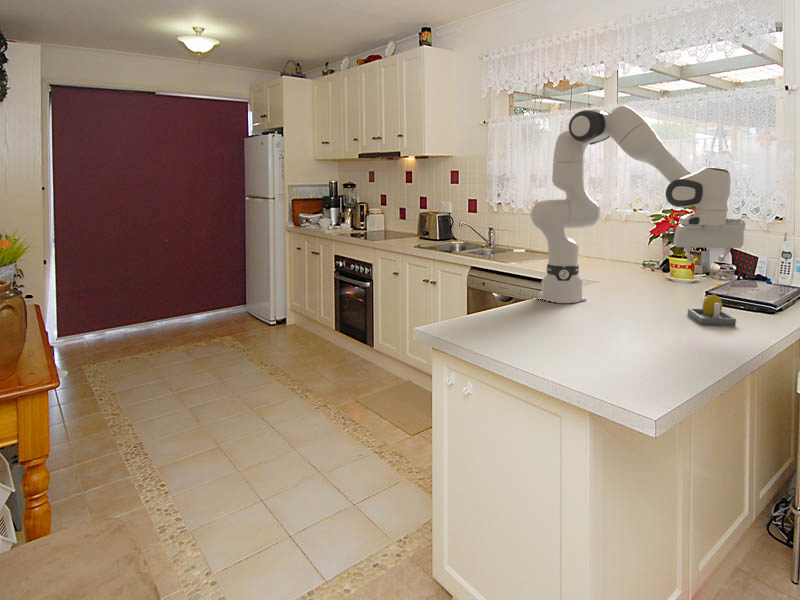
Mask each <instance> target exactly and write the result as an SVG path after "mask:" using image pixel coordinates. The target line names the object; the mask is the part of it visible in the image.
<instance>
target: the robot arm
mask: <svg viewBox="0 0 800 600" xmlns="http://www.w3.org/2000/svg"><path fill="white" fill-rule="evenodd" d="M609 138H611V139H613V140H614V142H616V144H617V145H618V146H619V147H620V149H621V150H622V151H623V152H624V153H625V154H626V155H628V156H629V157H630V158H632V159H633V160H635V161H639V162H642V163H645V164H648V165H650V166H652V167H653V168H655V169H656V170H657V171H658V172H659V173H660V174H661V175H662V176H663V178H665V179H666V180H667V181H668V182H669V184H668V186H667V187H666V189H665V199H666V200H667V202H668V204H670V205H672V206H673V207H676V208H688V207H689V208H690V207H695V212H693V213H689V214H685V215H682V216H680V217H679V219H678V222H679V224H678V225H677V226H676V228H675V231H674V236H673V241H672V242H673V246H675V247H676V248H684V250H683V251H684V252H685V254H686V257H687V258H686V260H687V262H693V261H694V258H695V255H693V254H691V250H692V248H707V249H710V248H714V249H715V248H716V249H718V248H719V249H720V248H722V251H723V252H722V254H720V255H718V257H717V261H718V262H726V261H725V260H726V257H727V256H728V254H730V251H731V249H741V248H742V247H743V246H744V243H745V241H744V237H745V235H744V232H745V230H746V222H745V220H742V219H741V218H727V217H728V210H729V209H728V200H729V198H730V195H731V194H730V192H731V182H732V181H731V180H732V178H731V173H730V172H729V171H728V170H727V169H726V168H721V167H716V166H704V167H703V168H702V169H700V170H699V171H697V172H694V173H691V172H689V171H688V170H687V169H686V168H685V167H684V166H683V165H682V164H681V162H679V161H678V160H677V159H676V158H675V157H674V155H673V154H672V153H671V152H670V151H669V149H667V147H666V146H665V144H664V143H663V141H662V140H661V138H660V137H659V136H658V135H657V133H656V132H655V131H654V129H653V127H652V126H651V125H650V124H649V123H648V122H647V121H646V120H645V119H644V118H643V116H642V115H640V114H639V113H638V112H636V111H635V110H634V109H633V108H631V107H629V106H628V105H620V106H618V107H616V108H613V110H611V111H610V112H608V111H605V110H600V109H591V110H590V109H589V110H587V109H583V110H580V111H578V112H577V113H575V114H574V115H573V116H572V117H571V118H570V121H569V123H568V130H566V131H563V132H561V133H560V134H559V135H558V136H557V139H556V142H555V146H554V152H553V159H552V160H553V161H552V162H553V163H552V178H551V179H552V180H551V181H552V183H553V185H554V186H555V187H556V188H557V189H559V190H561V191H563V192H564V193H565V197H566V199H548V200H547V199H546V200H541V201H537V202H536V203H535V204H534V205H533V206H532V208H531V212H530V217H531V221H532V223H533V225H534V226H535V227H537V228H538V229H539V231H541V232H542V234H543V235H544V237H545V239H546V241H547V248H548V249H547V250H548V261H547V262H548V263H547V265H546V273H547V274H546V275H545V276H544V277H543V278H542V280H541V282H540V287H541V288H540V290H541V291H540V292H539V294H538V295H537V297H536V300H538V299H539V301H544V300H546V301H545V302H548V301H551V302H550V303H554V302H556V303H555V304H557V303H558V304H574V303H579V302H586V301H587V297H586V296H584V295H583V279H582V278H581V277H580V276H579V273H580V264H579V251H580V250H579V245H578V242H577V241H576V240H574V239H572V238H571V237H569V236H567V235H566V234H565V229H583V228H588V227H593V226H595V225H596V224H597V223H598V221H599V220H600V216H601V211H600V207H599V205H598V203H597V202H596V201H595V200H594V199H592V197H590V195H589V194H588V192H587V189H586V187H585V182H584V168H585V154H586V153H585V152H586V149H587V147H588V146H589V145H591V146H592V145H594V144H595V145H596V144H598V143H602V142H604V141H606V140H607V139H609ZM540 298H541V300H540ZM542 299H543V300H542Z"/></svg>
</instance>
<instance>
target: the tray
mask: <svg viewBox="0 0 800 600" xmlns="http://www.w3.org/2000/svg"><path fill="white" fill-rule="evenodd" d="M706 297H707V296H705V297H704V300H705V299H706ZM720 304H721V303H715V306H714V316H713V317H712V318H710V317H709V316H708V315H706V314H705V313H704V311H703V308H687V314H686V316H687V317H688V318H690V319H691V320H692V321H694V322H695V323H696V324H698V325H699V326H700V325H701V326H702V327H723V326H735V327H736V322H737V318H736V317H733V316H732V315H730V314H728V313H727V312H725V311H723V310H721V312H720ZM701 326H700V327H701Z"/></svg>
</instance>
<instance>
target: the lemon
mask: <svg viewBox="0 0 800 600" xmlns="http://www.w3.org/2000/svg"><path fill="white" fill-rule="evenodd" d="M705 297H706V299H705V298H704V299H705V300H704V301H703V303H702V309H703V311H704V313H705V314H706V315H708V316H709V317H710V318H712V317H713V316H714V306H715V303H721V304H720V312H721V310H722V309H723V301H722V299H721V298H720V296H718V295H717V294H715V293H712V294H711V295H710V294H709V295H708V296H705ZM722 311H723V310H722Z"/></svg>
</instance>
